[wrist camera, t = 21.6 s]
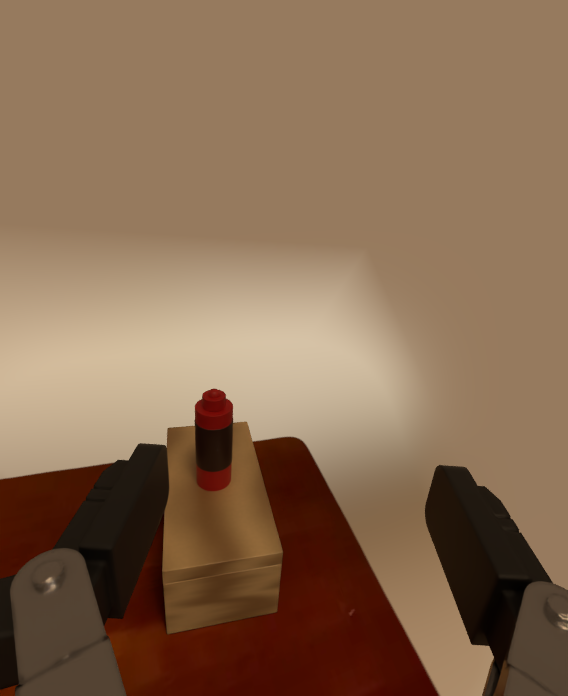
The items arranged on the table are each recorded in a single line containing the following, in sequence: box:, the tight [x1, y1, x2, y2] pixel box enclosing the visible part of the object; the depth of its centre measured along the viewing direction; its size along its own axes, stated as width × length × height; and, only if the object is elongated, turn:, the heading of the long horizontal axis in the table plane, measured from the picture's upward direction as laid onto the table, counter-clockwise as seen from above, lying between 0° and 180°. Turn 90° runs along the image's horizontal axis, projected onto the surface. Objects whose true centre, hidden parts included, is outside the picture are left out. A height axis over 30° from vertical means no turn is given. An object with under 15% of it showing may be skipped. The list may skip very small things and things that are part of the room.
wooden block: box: [162, 422, 283, 634], centre depth 43 cm, size 10×20×8 cm, turn 14°
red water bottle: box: [195, 389, 233, 491], centre depth 40 cm, size 4×4×11 cm
